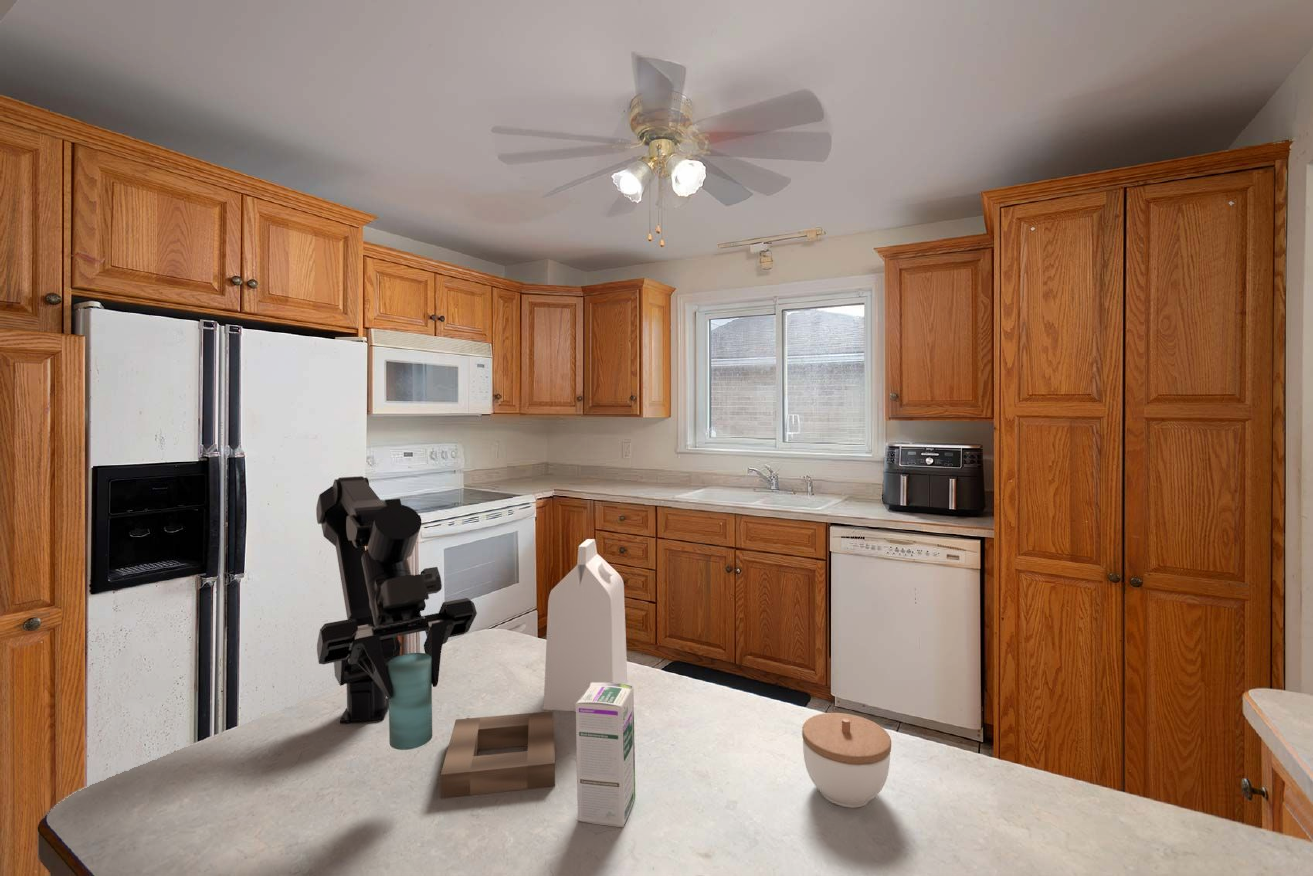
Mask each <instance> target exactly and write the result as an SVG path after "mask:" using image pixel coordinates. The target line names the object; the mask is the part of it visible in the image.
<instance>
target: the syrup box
mask: <svg viewBox="0 0 1313 876" xmlns="http://www.w3.org/2000/svg"><path fill="white" fill-rule="evenodd" d="M634 692H635V691H634V686H633V685H629V684H626V685H624V684H618V683H593V682H591V684H590V686H589V687H588V688H587V690H586V691H585V692H584V693H583V694H582V696H581V697H580V699H579V700H578V702H577V703H576V711H575V733H576V735H575V737H576V738H575V740H576V741H575V742H576V745H575V747H576V749H575V750H576V781H577V782H576V784H577V785H576V786H577V787H576V788H577V789H576V790H577V794H576V795H577V820H578V821H580V822H583V823H589V824H594V825H602V826H609V827H617V828H624V827H625V823H626V821H627V820H628V818H629V814H630V812H631V810H632V807H633V805H634V802H635V800H636V764H635V763H636V760H635V759H636V758H635V757H636V755H635V754H636V753H635V747H636V745H635V707H634V705H635V701H634Z"/></svg>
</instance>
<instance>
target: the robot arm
mask: <svg viewBox="0 0 1313 876" xmlns="http://www.w3.org/2000/svg"><path fill="white" fill-rule="evenodd" d="M315 509H316V512H315V513H316V521H317V522H316V523H317V525H321V529H322V531H321V532H322V535H323V537H324V538H325V539H326V540H327V541H328V542H330V543H331V544H332V545H333V546H335V550H336V556H337V563H338V569H339V575H340V576H339V577H340V580H341V581H340V582H341V589H342V595H343V600H344V606H345V613H346V619H343V620H338V621H332V622H327V623H324V624H323V625H322V626H321V627H320V629H319V633H318V638H317V643H316V653H317V654H316V655H317V661H318V664H319V665H327V664H333V669H334V678H335V679H336V681H337V683H338V685H339V686H344V685H346V708H345V710H344V712H343V713H342V714H341V716H340V717H339V723H341V724H342V723H343V724H346V723H357V722H369V721H379V720H380V721H381V720H384V719H385V718H386V715H387V714H388V713H389V699H390V698H392V696H393V691H392V685H391V680H390V677H389V674H388V663H389V661H390V660H391V659H393V658H395V657H397V656H400V655H401V650H402V642H401V641H400V640H399V637H400V636H401V637H402V636H407V635H410V634H417V633H420V632H425V635H426V639H425V641H424V642H423V650H424V653H425V654H428V655H430V656H431V670H432V688H436V687H437V686H438V684H439V679H440V678H439V676H440V667H441V659H442V658H441V656H442V649H443V645H444V644H446V643H447V642H448V641H449V638H453V637H458V636H462V635H464V634H467V633H468V632H469V631H470V628H471V626H472V624H473V622H474V620H475V618H476V616H477V615H478V612H477V609H476V605H475V603H474V602H473V601H472V600H471V599H469V598H468V597H464V598H461V599H454V600H449V601H442V604H441V606H440V608H439V610H438V612H437V613H431V614H426V615H425V614H424V615H422V613H421V612H422V611H425V609H426V606H427V605H426V601H427V600H429V599H430V597H429V595H432V594H437V593H439V592H440V591H441V590H442V587H443V584H442V578H441V574H440V572H439V567H438V566H435V567H434V566H433V567H427V568H424V569H422V570H421V571H420V573H419V574H412V572H411V568H410V564H409V557H411V556H412V555H413V552H414V548H415V545H416V543H417V541H418V540H417V539H418V537H419V533H420V531H421V527H422V522H423V521H422V517H421V515H420V514H419V513H418V512H417V511H416V510H415V509H414V508H411V507H410V506H408V505H404V504H402V502H401V498H391V499H389V498H388V499H384V500H383V499H381V498H380V497H379V496H378V494H376V492H375V490H373V488H372V487H371V486H370V482H369V478H368V477H364V476H362V475H360V476H358V475H357V476H342V477H338V478H337V479H334V481H333V483H332V485H331V486H330V487H328V488H327V489H326V490H324V491H322V492H321V493H319V495H318V499H317V504H316V508H315ZM366 547H367V548H366Z"/></svg>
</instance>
